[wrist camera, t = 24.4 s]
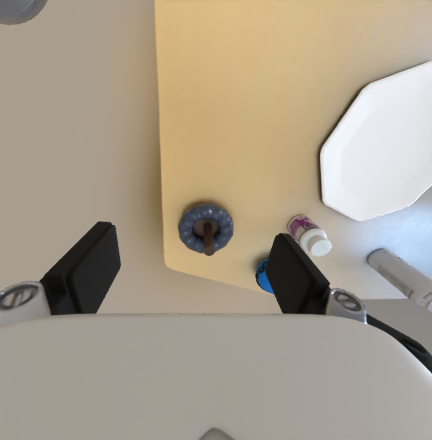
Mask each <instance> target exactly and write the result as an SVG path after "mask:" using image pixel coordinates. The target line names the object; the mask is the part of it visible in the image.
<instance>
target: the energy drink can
mask: <svg viewBox="0 0 432 440" xmlns="http://www.w3.org/2000/svg"><path fill="white" fill-rule="evenodd" d="M368 262H369V265H370V266H371V267H372V268H373V269H374V270H376V271H377V272H378V273H379V274H380V275H382V276H383V277H384V278H385V279H386V280H388V281H389V282H390V283H391V284H392V285H394V286H395V287H396V288H397V289H398V290H400V291H401V292H402V293H403V294H404V295H406V296H407V297H408V298H409V299H410V300H412V301H413V302H414V303H415V304H416V305H418V306H420V307H423V308H426V309H427V310H428V311H432V279H431V278H429V277H428V276H426V275H425V274H423V273H422V272H420V271H419V270H417V269H416V268H414V267H413V266H411V265H410V264H408V263H407V262H405V261H404V260H402V259H401V258H400V257H398V256H397V255H395V254H394V253H392V252H391V251H389V250H383V249H379V250H376V251H374V252H372V253H371V254H370V255H369V257H368Z"/></svg>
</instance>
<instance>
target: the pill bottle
mask: <svg viewBox="0 0 432 440" xmlns="http://www.w3.org/2000/svg"><path fill="white" fill-rule="evenodd" d="M288 231H289V232H290V234H291V235H292V236H293V237H294V239H295V240H296V241H297V242H298V243H299V245H300V246H301V247H302V248H303V249H304V250H306V251H309V252H310V253H311V254H312V255H314V256H316V257H320V256H323V255H325V254H327V253H328V252H329V251H330V249H331V243H330V241H329V240H328V239H327V236H326V234H325V232H324V231H323V230H322V229H320V228H319V227H318V226H317V225H316V224H315V223H314V222H312V221H311V220H310V219H309V218H308V217H306V216H304V215H299V216H296V217H294V218H292V219H291V220H290V222H289V224H288Z"/></svg>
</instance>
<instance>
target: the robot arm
mask: <svg viewBox="0 0 432 440" xmlns="http://www.w3.org/2000/svg"><path fill="white" fill-rule="evenodd" d="M120 266H121V262H120V255H119V248H118V241H117V234H116V228H115V225H112V223H111V222H97V223H96V224H95V225H94V226H93V227H92V229H90V230H89V231H88V232H87V233H86V234H85V235H84V236H83V237H82V238H81V239H80V240H79V241H78V242H77V243H76V244H75V245H74V246H73V247H72V248H71V249H70V250H69V251H68V252H67V253H66V254H65V255H64V256H63V257H62V258H61V259H60V260H59V261H58V262H57V263H56V264H55V265H54V266H53V267H52V268H51V269H50V270H49V271H48V272H47V273H46V274H45V275H44V277H43V278H42V279H41V280H40V281H39V282H37V281H26V282H21V283H17V284H14V285H12V286H9V287H7V288H5V289H4V290H1V291H0V440H432V356H431V354H430V353H429V352H428V351H427V350H426V349H425V348H424V347H423V346H422V345H421V344H419V343H418V342H417V341H415V340H413V339H412V338H410V337H408V336H406V335H404V334H403V333H401V332H399V331H397V330H395V329H394V328H391V327H390V326H388V325H386V324H384V323H382V322H381V321H379V320H377V319H375V318H373V317H371V316H370V315H368V314H366V309H365V306H364V304H363V303H362V301H361V300H360V299H359V298H358V297H356V296H355V295H354V294H352V293H350V292H349V291H346V290H344V289H340V288H333V289H330V287H329V285H330V282H329V281H328V280H327V279H326V278H325V276H324V275H323V274H322V273H321V271H320V270H319V269H318V268H317V267H316V265H315V264H314V263H313V262H312V260H311V259H310V258H309V257H308V256H307V254H306V253H305V252H304V251H303V250H302V248H301V247H300V246H299V245H298V243H297V242H296V241H295V240H294V239H293V237H292V236H291V235H290V234H285V233H280V234H278V235H277V236H276V237H275V239H274V242H273V246H272V249H271V252H270V255H269V258H268V261H267V264H266V267H265V274H266V277H267V279H268V281H269V283H270V286H271V288H272V290H273V292H274V295H275V297H276V299H277V302H278V304H279V306H280V308H281V310H282V313H283V314H262V313H261V314H260V313H259V314H258V313H254V314H253V313H251V314H250V313H113V314H112V313H111V314H108V313H107V314H96V313H97V310H98V309H99V307H100V305H101V303H102V301H103V299H104V298H105V295H106V294H107V292H108V290H109V288H110V286H111V284H112V282H113V281H114V279H115V277H116V275H117V273H118V271H119V269H120Z"/></svg>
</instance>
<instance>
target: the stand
mask: <svg viewBox="0 0 432 440" xmlns="http://www.w3.org/2000/svg"><path fill="white" fill-rule="evenodd" d="M199 204H204V203H202V202H200V203H199ZM231 219H232V218H231ZM218 232H219V225H218V224H217V222H216V221H214V220H211V219H201V220H199V221H197V222H196V223H195V224H194V226H193V233H194V234H195V236H196V237H198V238H200V239H203V240H204V253H205V255H207V256H211V255H213V254H214V253H215V246H214V237H215V236H216V235H217V234H218Z"/></svg>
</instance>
